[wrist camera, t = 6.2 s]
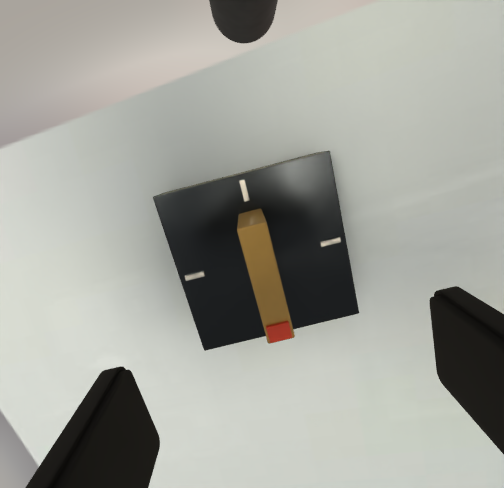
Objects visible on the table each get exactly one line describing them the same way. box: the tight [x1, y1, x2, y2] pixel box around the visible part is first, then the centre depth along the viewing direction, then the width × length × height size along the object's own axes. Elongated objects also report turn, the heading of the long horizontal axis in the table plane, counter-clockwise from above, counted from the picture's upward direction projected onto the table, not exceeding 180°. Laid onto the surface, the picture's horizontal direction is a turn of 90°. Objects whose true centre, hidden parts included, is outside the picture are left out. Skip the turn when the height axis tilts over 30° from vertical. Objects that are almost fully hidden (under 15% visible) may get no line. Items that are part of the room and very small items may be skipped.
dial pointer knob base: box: [153, 151, 359, 350], centre depth 23 cm, size 12×12×3 cm
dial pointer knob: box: [237, 209, 295, 343], centre depth 19 cm, size 7×2×5 cm, turn 14°
